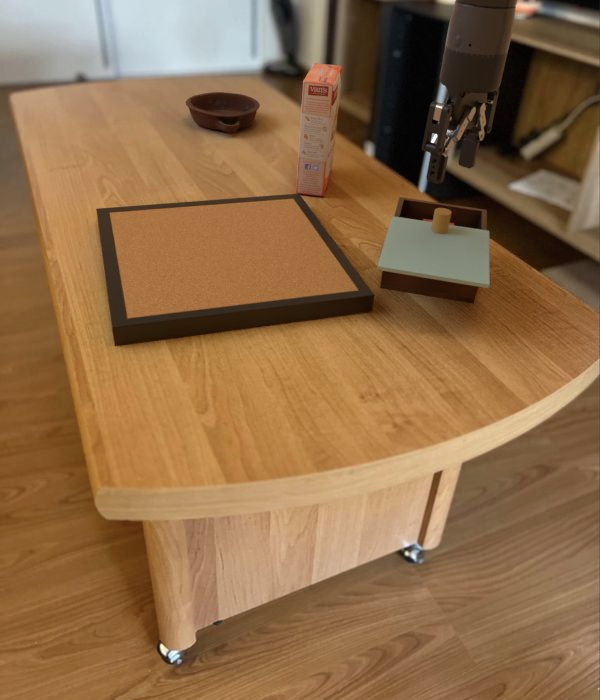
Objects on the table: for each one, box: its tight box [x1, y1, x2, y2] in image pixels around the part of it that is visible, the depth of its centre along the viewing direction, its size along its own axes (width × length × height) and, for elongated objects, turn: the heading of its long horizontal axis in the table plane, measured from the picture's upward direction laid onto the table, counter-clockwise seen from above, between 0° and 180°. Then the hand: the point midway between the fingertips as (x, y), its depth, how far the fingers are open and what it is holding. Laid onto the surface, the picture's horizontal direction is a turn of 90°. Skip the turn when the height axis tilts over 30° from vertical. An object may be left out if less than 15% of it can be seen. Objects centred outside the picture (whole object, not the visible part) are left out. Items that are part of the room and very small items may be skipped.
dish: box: [185, 91, 261, 134], centre depth 151 cm, size 18×22×5 cm
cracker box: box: [295, 62, 343, 198], centre depth 120 cm, size 14×6×21 cm, turn 171°
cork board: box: [95, 193, 375, 347], centre depth 97 cm, size 36×3×35 cm
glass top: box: [376, 208, 491, 289], centre depth 87 cm, size 14×16×4 cm
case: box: [379, 196, 488, 304], centre depth 98 cm, size 14×16×8 cm
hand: (450, 173), depth 86 cm, fingers open, 8 cm apart
